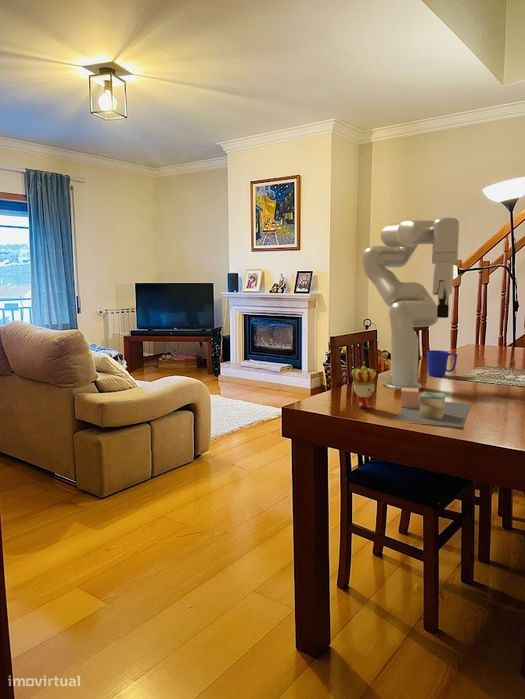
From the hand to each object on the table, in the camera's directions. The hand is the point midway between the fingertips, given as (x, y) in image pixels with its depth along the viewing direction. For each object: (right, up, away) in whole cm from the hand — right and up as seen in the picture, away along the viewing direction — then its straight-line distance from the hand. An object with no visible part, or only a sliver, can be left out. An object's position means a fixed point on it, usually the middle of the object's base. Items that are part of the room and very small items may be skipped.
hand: (442, 317), depth 162 cm
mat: (-7, -29, -12) cm, 32 cm away
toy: (-27, -29, -7) cm, 40 cm away
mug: (+16, -21, +48) cm, 55 cm away
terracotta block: (-12, -27, -5) cm, 30 cm away
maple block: (-9, -23, -17) cm, 30 cm away
